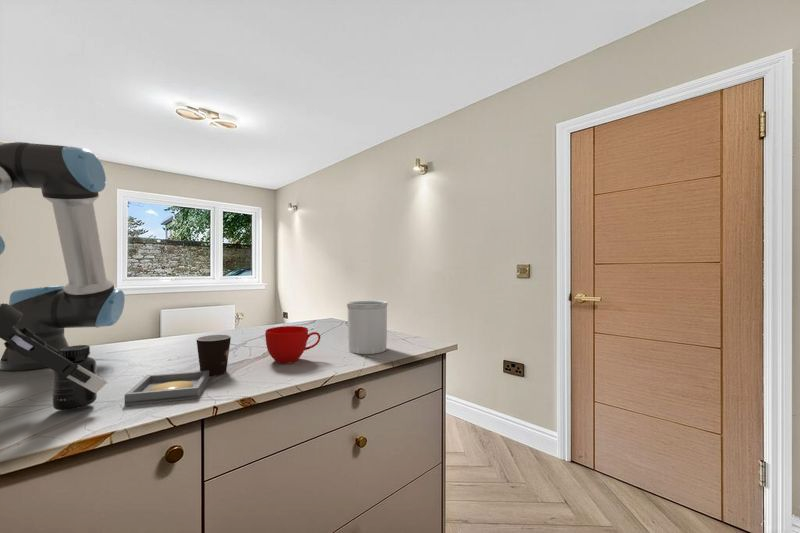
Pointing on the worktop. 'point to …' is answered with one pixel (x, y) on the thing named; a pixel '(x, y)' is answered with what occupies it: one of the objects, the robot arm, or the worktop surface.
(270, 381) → the worktop surface
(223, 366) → the coffee mug
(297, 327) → the ceramic cup
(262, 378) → the worktop surface
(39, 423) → the worktop surface
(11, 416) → the worktop surface
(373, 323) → the utensil holder
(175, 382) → the tray
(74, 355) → the supplement bottle
